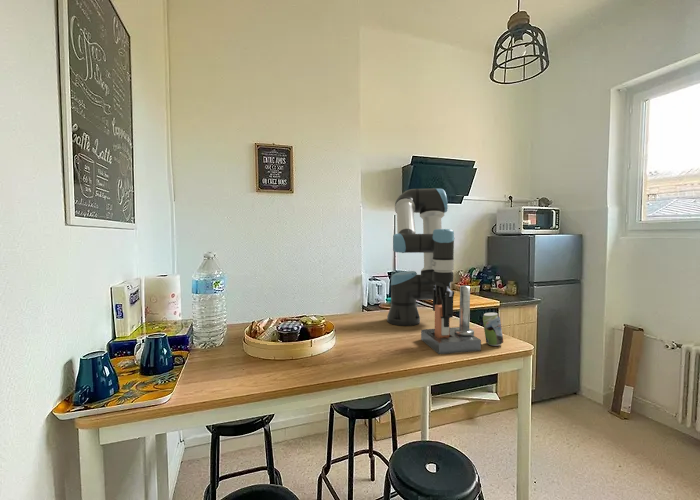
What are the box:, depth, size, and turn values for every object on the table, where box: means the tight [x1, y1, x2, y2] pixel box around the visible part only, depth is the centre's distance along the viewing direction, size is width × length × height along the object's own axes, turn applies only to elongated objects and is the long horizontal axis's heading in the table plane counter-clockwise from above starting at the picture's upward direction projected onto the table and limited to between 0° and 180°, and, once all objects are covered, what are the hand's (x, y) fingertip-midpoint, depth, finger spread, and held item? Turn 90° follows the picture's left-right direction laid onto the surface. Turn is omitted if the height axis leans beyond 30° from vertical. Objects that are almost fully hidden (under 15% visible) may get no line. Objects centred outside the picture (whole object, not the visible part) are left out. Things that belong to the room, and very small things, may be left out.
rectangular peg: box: [434, 304, 451, 338], centre depth 130 cm, size 4×4×12 cm
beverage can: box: [482, 311, 504, 347], centre depth 131 cm, size 6×7×12 cm
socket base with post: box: [420, 285, 482, 355], centre depth 130 cm, size 16×18×22 cm
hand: (442, 332), depth 130 cm, fingers closed on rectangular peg, 4 cm apart
